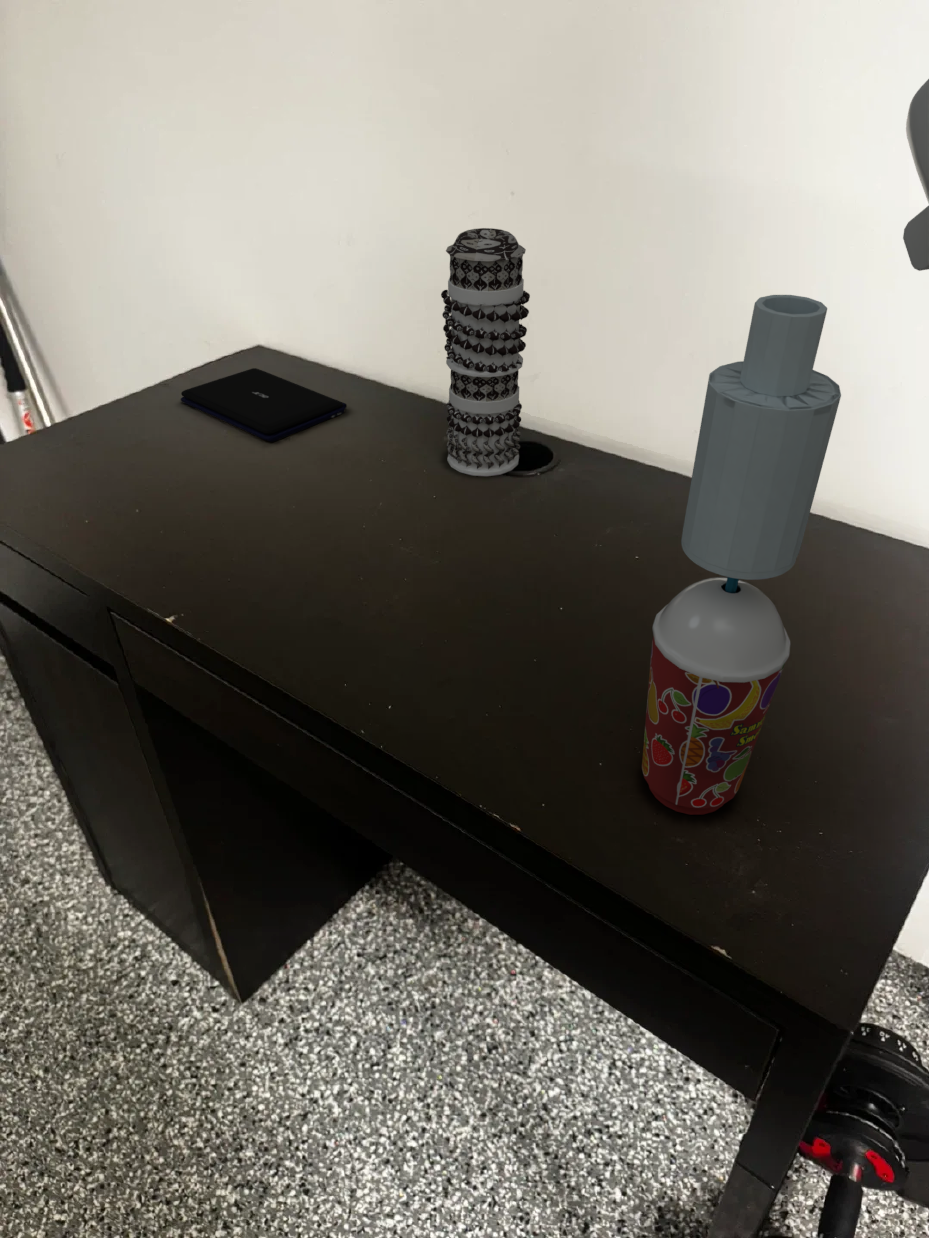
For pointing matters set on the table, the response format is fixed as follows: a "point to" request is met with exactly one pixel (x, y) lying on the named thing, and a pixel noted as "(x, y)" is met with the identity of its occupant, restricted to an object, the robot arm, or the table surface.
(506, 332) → the decorative candle
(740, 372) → the small bottle
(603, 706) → the table surface
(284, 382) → the laptop
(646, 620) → the table surface
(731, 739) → the smoothie
